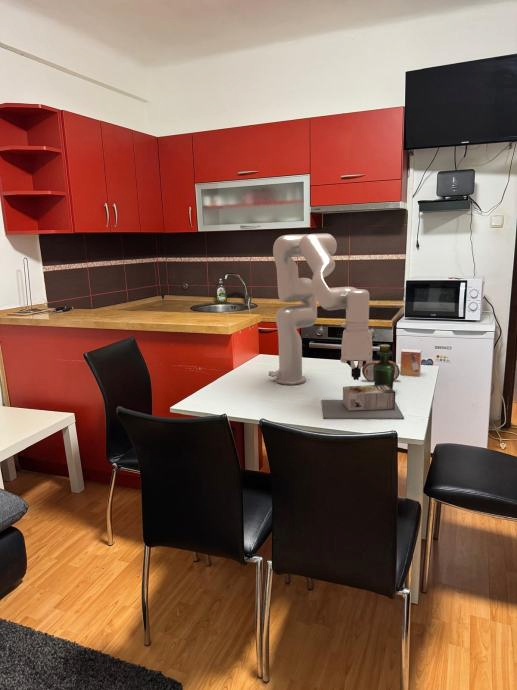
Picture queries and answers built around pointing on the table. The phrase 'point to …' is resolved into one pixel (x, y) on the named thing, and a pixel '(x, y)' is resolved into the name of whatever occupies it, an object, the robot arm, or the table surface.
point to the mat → (357, 412)
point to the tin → (369, 372)
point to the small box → (410, 362)
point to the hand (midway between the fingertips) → (355, 378)
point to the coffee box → (369, 397)
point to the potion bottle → (384, 367)
